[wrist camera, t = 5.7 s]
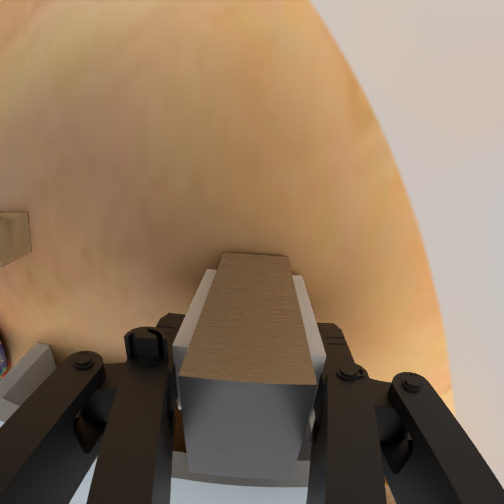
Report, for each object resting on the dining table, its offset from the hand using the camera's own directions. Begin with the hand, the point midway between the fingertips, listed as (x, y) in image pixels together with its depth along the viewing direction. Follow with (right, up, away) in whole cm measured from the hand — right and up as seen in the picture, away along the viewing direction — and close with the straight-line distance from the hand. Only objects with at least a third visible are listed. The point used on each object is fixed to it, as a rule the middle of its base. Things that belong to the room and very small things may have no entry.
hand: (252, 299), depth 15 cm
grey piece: (-3, -7, +3) cm, 8 cm away
